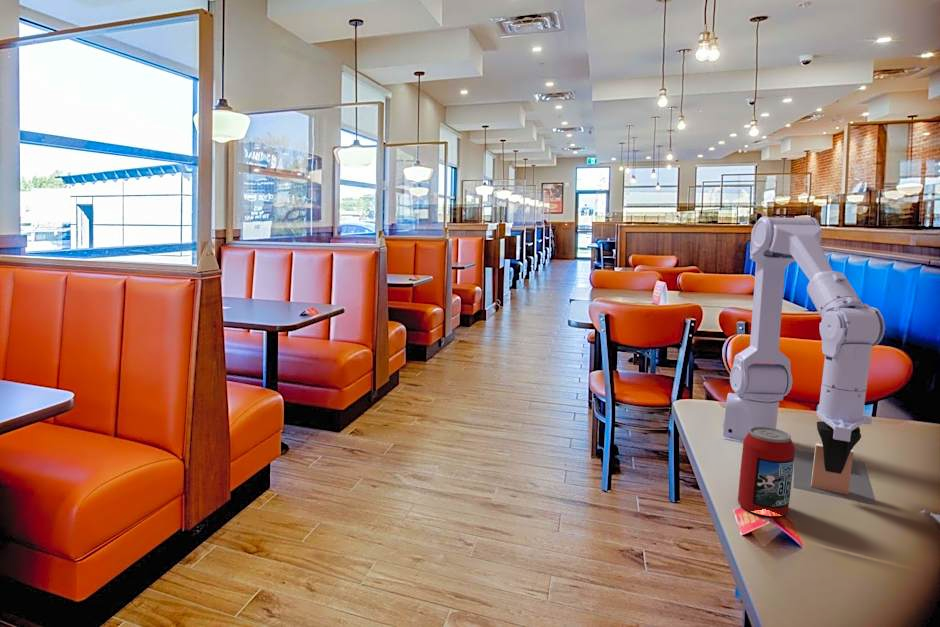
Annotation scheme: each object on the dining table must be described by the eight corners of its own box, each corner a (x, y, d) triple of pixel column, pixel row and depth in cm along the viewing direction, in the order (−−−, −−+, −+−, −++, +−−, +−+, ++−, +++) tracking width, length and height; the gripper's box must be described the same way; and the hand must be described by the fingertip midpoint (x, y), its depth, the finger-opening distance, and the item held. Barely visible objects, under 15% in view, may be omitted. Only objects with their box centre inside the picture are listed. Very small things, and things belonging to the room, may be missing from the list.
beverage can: (767, 525, 81) (776, 444, 79) (727, 504, 87) (734, 428, 85) (797, 515, 84) (807, 437, 82) (756, 496, 90) (764, 422, 88)
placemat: (793, 489, 93) (793, 487, 92) (794, 451, 109) (794, 449, 109) (875, 507, 87) (876, 504, 87) (863, 464, 104) (864, 462, 103)
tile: (811, 486, 93) (816, 445, 92) (811, 483, 94) (815, 442, 93) (847, 494, 90) (853, 452, 89) (847, 491, 92) (852, 449, 91)
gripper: (881, 402, 79) (868, 495, 81) (870, 379, 91) (859, 460, 93) (821, 394, 82) (810, 483, 84) (818, 373, 95) (809, 451, 97)
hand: (833, 471), depth 89 cm, fingers closed
